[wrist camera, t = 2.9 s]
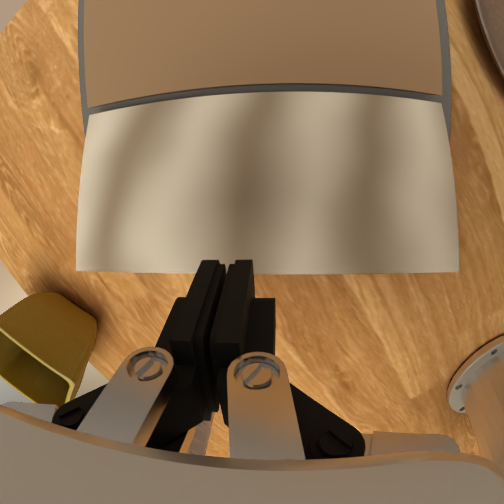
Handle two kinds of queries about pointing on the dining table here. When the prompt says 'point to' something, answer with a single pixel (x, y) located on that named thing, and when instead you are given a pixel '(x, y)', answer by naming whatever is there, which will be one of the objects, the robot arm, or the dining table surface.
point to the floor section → (260, 49)
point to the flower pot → (46, 347)
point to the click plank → (269, 185)
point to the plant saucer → (492, 28)
